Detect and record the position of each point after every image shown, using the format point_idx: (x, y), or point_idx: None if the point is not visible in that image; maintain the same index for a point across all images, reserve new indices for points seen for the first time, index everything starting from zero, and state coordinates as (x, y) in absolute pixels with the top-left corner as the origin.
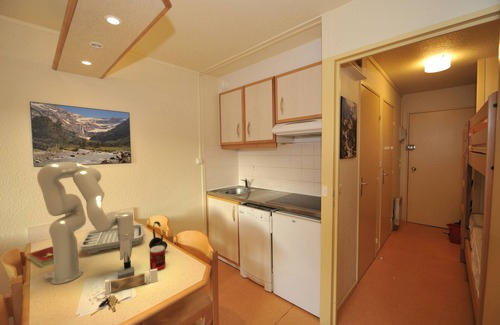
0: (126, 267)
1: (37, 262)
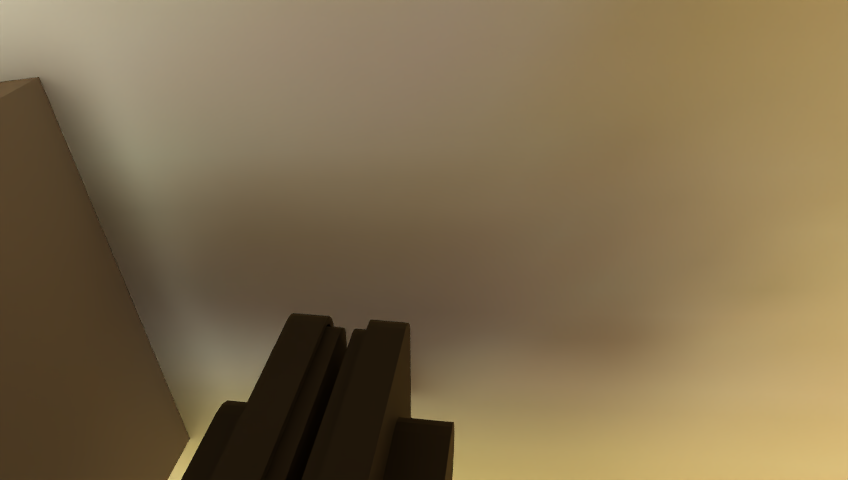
0: (218, 453)
1: None
